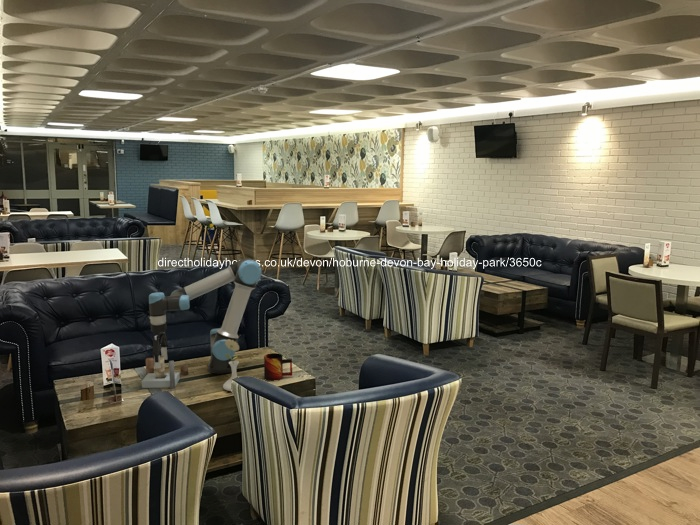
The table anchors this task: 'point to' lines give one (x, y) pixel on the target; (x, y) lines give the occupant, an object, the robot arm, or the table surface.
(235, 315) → the robot arm
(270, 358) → the mug
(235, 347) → the flower in vase
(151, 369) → the medium pin
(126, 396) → the table surface
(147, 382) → the hole plate
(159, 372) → the long pin
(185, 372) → the short pin
